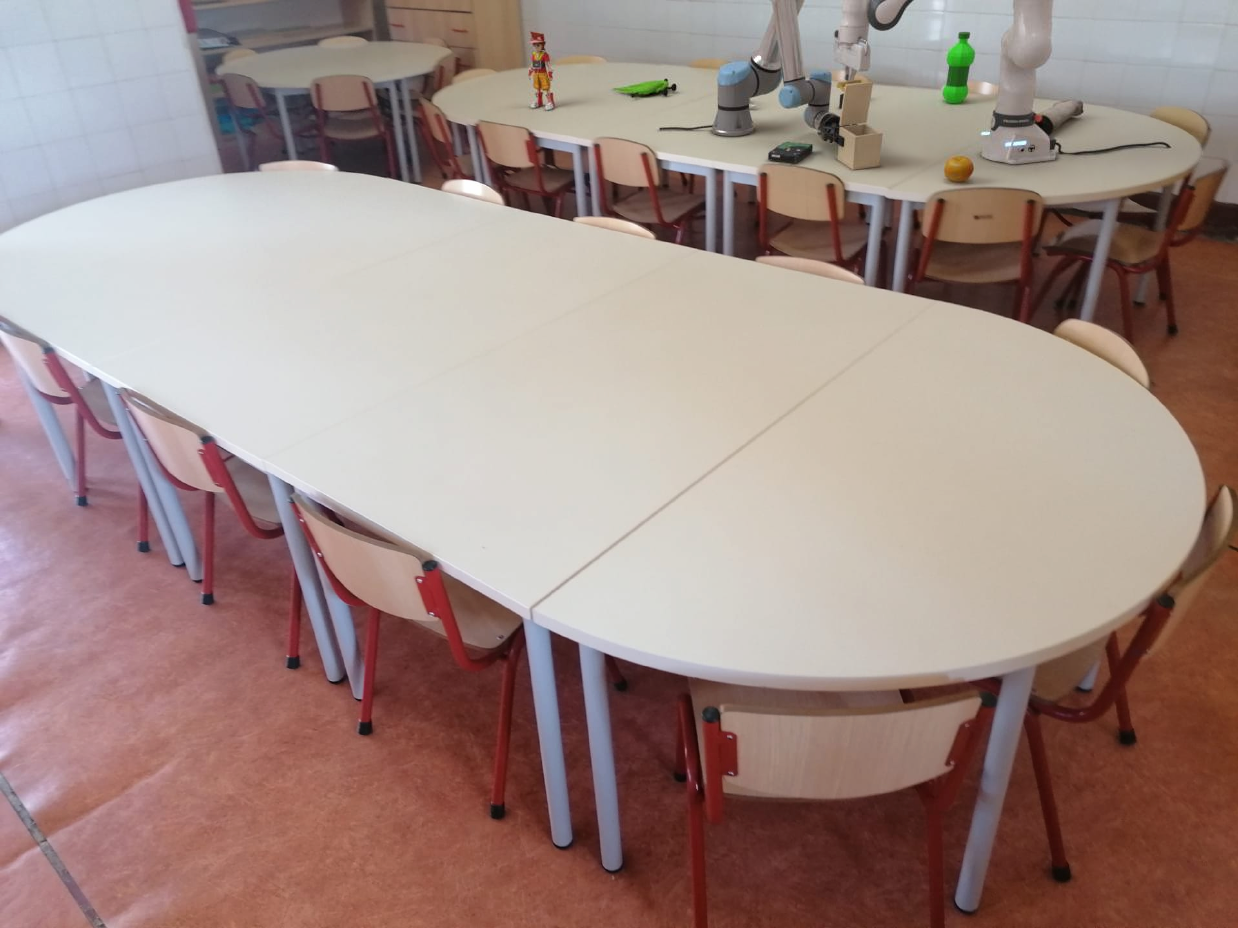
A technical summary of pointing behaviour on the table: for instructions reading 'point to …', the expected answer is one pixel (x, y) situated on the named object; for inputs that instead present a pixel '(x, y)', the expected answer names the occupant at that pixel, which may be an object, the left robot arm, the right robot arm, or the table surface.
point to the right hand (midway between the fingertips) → (849, 81)
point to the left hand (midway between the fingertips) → (857, 140)
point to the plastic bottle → (958, 69)
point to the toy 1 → (541, 71)
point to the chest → (860, 146)
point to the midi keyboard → (841, 100)
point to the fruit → (958, 168)
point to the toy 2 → (648, 88)
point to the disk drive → (790, 152)
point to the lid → (855, 101)
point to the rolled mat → (1059, 114)
